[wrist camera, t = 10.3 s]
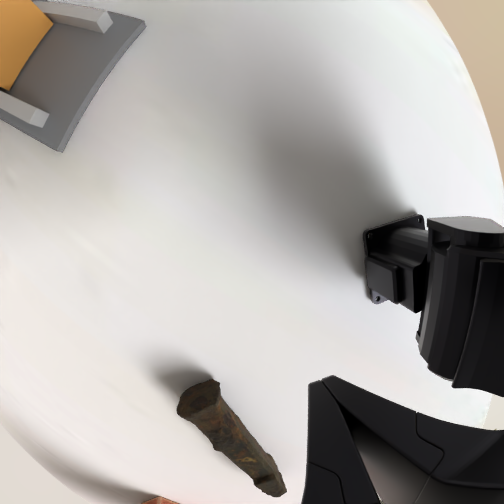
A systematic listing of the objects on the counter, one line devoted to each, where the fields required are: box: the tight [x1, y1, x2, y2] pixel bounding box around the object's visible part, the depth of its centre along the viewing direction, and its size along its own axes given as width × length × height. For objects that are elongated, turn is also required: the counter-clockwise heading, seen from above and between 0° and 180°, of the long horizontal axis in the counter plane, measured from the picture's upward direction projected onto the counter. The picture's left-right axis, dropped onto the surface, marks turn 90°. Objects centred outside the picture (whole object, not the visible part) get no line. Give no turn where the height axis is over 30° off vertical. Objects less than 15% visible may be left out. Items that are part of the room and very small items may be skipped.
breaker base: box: [0, 0, 146, 153], centre depth 12 cm, size 16×12×5 cm
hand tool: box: [177, 380, 287, 497], centre depth 22 cm, size 19×4×5 cm, turn 23°
